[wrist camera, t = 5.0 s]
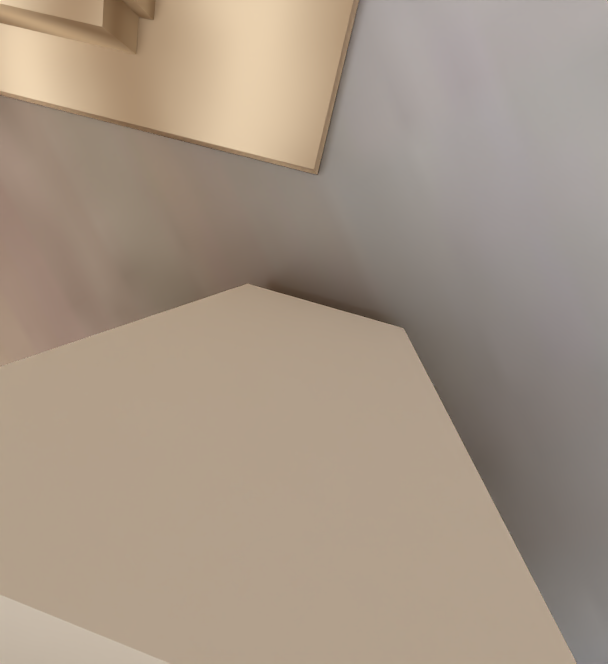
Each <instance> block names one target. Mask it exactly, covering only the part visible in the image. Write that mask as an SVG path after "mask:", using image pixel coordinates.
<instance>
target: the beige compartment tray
mask: <svg viewBox="0 0 608 664" xmlns="http://www.w3.org/2000/svg"><path fill="white" fill-rule="evenodd" d="M358 3H359V0H0V95H2V96H6V97H10V98H14V99H18V100H22V101H26V102H30V103H34V104H38V105H42V106H46V107H50V108H54V109H58V110H62V111H66V112H70V113H74V114H78V115H82V116H86V117H90V118H94V119H98V120H102V121H106V122H110V123H114V124H118V125H122V126H126V127H130V128H134V129H138V130H142V131H146V132H149V133H153V134H157V135H161V136H165V137H169V138H173V139H177V140H181V141H185V142H189V143H193V144H197V145H201V146H205V147H209V148H213V149H217V150H221V151H225V152H229V153H233V154H237V155H241V156H245V157H249V158H253V159H257V160H261V161H265V162H269V163H273V164H277V165H281V166H285V167H289V168H293V169H297V170H301V171H304V172H308V173H312V174H316V175H317V174H318V170H319V166H320V161H321V157H322V153H323V149H324V145H325V141H326V136H327V132H328V128H329V124H330V120H331V115H332V111H333V107H334V103H335V99H336V95H337V90H338V86H339V82H340V78H341V74H342V69H343V65H344V61H345V57H346V53H347V49H348V44H349V40H350V36H351V32H352V28H353V23H354V19H355V15H356V11H357V7H358Z"/></svg>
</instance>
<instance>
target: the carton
mask: <svg viewBox="0 0 608 664" xmlns="http://www.w3.org/2000/svg"><path fill="white" fill-rule="evenodd" d="M0 664H577V663H576V661H575V659H574V657H573V655H572V653H571V651H570V649H569V648H568V646H567V644H566V642H565V640H564V638H563V636H562V634H561V632H560V630H559V628H558V626H557V624H556V622H555V620H554V618H553V617H552V615H551V613H550V611H549V609H548V607H547V605H546V603H545V601H544V599H543V597H542V595H541V593H540V591H539V589H538V587H537V586H536V584H535V582H534V580H533V578H532V576H531V574H530V572H529V570H528V568H527V566H526V564H525V562H524V560H523V558H522V557H521V555H520V553H519V551H518V549H517V547H516V545H515V543H514V541H513V539H512V537H511V535H510V533H509V531H508V529H507V527H506V526H505V524H504V522H503V520H502V518H501V516H500V514H499V512H498V510H497V508H496V506H495V504H494V502H493V500H492V498H491V496H490V495H489V493H488V491H487V489H486V487H485V485H484V483H483V481H482V479H481V477H480V475H479V473H478V471H477V469H476V467H475V465H474V464H473V462H472V460H471V458H470V456H469V454H468V452H467V450H466V448H465V446H464V444H463V442H462V440H461V438H460V436H459V435H458V433H457V431H456V429H455V427H454V425H453V423H452V421H451V419H450V417H449V415H448V413H447V411H446V409H445V407H444V405H443V404H442V402H441V400H440V398H439V396H438V394H437V392H436V390H435V388H434V386H433V384H432V382H431V380H430V378H429V376H428V374H427V373H426V371H425V369H424V367H423V365H422V363H421V361H420V359H419V357H418V355H417V353H416V351H415V349H414V347H413V345H412V343H411V342H410V340H409V338H408V336H407V334H406V332H405V330H404V328H401V327H398V326H394V325H391V324H387V323H384V322H380V321H377V320H373V319H370V318H366V317H363V316H359V315H356V314H352V313H349V312H345V311H342V310H338V309H335V308H331V307H328V306H324V305H321V304H317V303H314V302H310V301H307V300H303V299H300V298H296V297H293V296H289V295H286V294H282V293H279V292H275V291H272V290H268V289H265V288H261V287H258V286H254V285H251V284H245V285H242V286H239V287H236V288H233V289H230V290H227V291H224V292H221V293H218V294H215V295H212V296H209V297H206V298H203V299H200V300H197V301H194V302H191V303H188V304H185V305H182V306H179V307H176V308H173V309H170V310H167V311H164V312H161V313H158V314H155V315H152V316H149V317H146V318H143V319H140V320H137V321H134V322H131V323H128V324H126V325H123V326H120V327H117V328H114V329H111V330H108V331H105V332H102V333H99V334H96V335H93V336H90V337H87V338H84V339H81V340H78V341H75V342H72V343H69V344H66V345H63V346H60V347H57V348H54V349H51V350H48V351H45V352H42V353H39V354H36V355H33V356H30V357H27V358H24V359H21V360H18V361H15V362H12V363H9V364H6V365H3V366H0Z"/></svg>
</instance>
